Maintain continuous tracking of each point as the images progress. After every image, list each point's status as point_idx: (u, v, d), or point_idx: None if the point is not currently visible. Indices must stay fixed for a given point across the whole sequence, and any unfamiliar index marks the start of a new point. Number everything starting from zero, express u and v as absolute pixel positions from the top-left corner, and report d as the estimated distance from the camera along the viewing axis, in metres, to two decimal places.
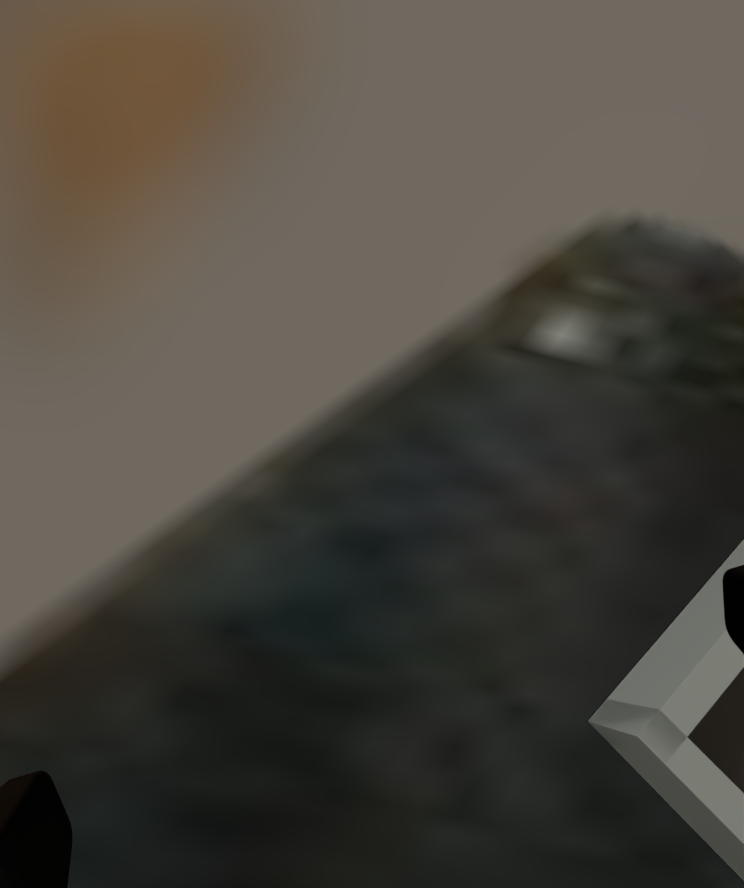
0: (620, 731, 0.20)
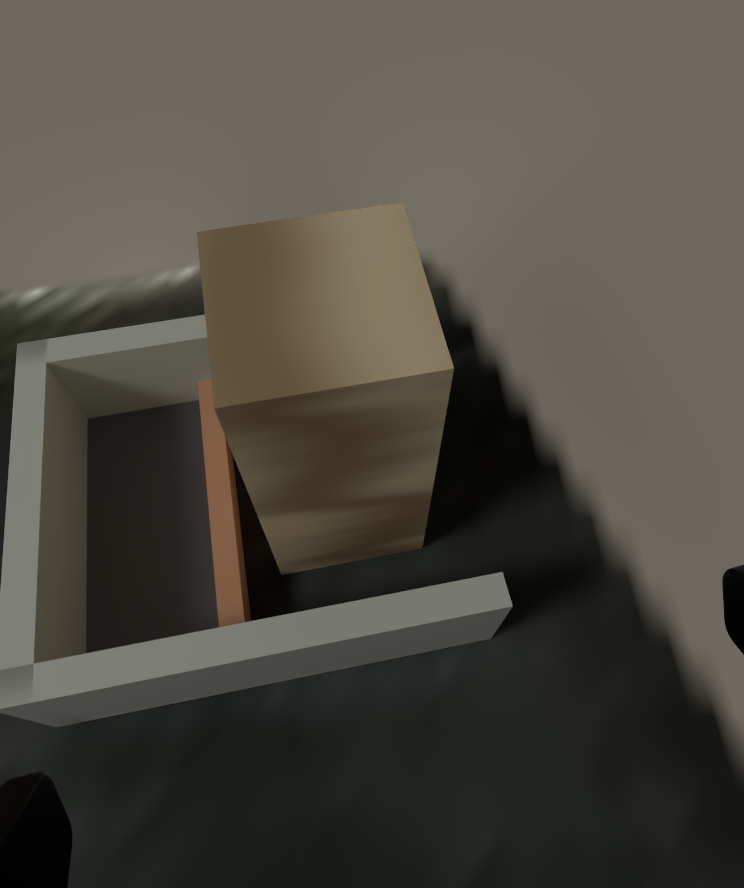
0: (16, 715, 0.19)
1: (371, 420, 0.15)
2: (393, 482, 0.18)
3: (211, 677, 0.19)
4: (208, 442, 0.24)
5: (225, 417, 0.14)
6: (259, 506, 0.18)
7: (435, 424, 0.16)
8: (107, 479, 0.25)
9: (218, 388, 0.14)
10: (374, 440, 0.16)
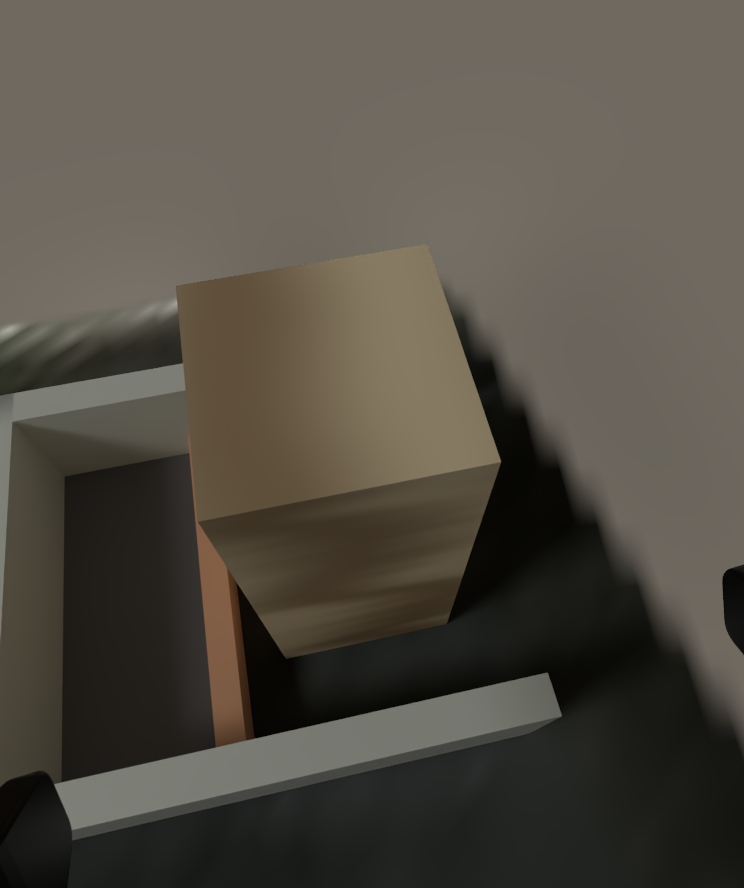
0: None
1: (395, 518, 0.12)
2: (418, 572, 0.15)
3: (205, 802, 0.16)
4: None
5: (212, 529, 0.11)
6: (258, 605, 0.15)
7: (472, 517, 0.13)
8: (86, 548, 0.22)
9: (202, 493, 0.11)
10: (398, 537, 0.13)
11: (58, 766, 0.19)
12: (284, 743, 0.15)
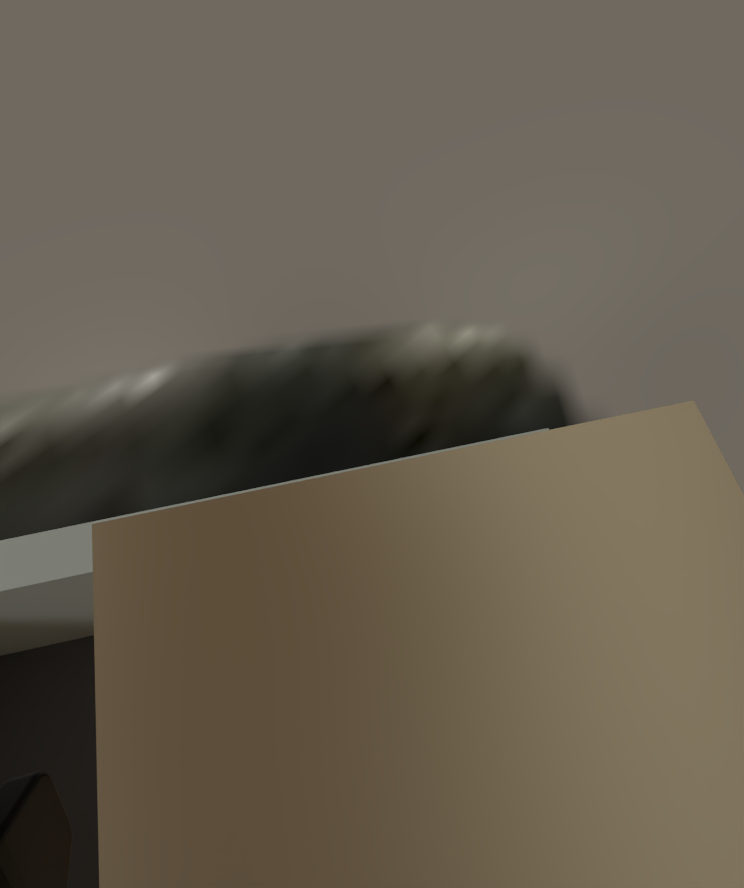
0: None
1: None
2: None
3: None
4: None
5: None
6: None
7: None
8: None
9: None
10: None
11: None
12: None
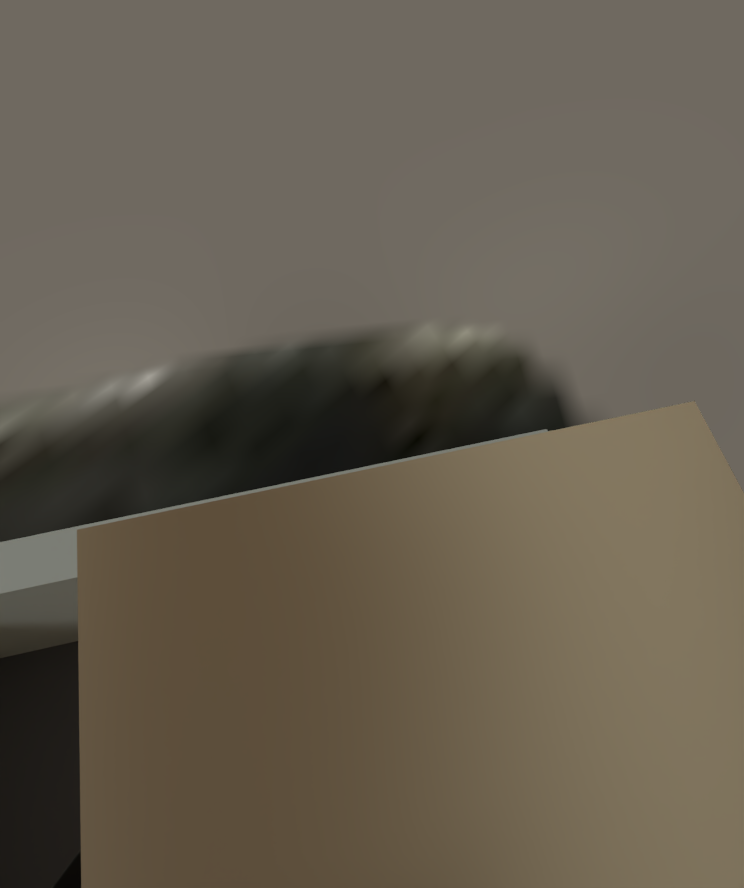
0: None
1: None
2: None
3: None
4: None
5: None
6: None
7: None
8: (1, 793, 0.14)
9: None
10: None
11: None
12: None
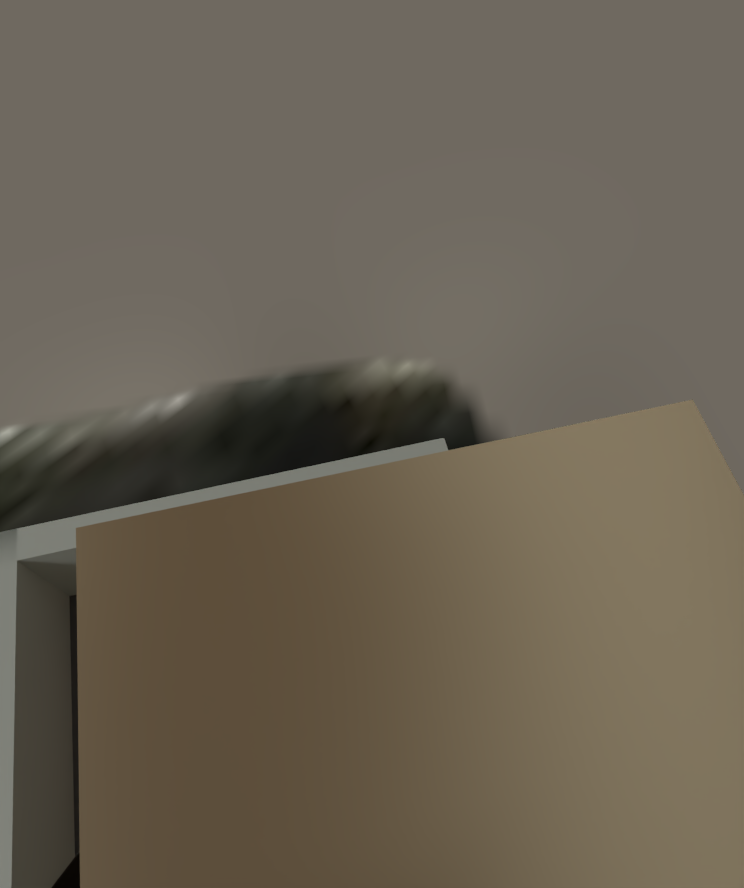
0: None
1: None
2: None
3: None
4: None
5: None
6: None
7: None
8: None
9: None
10: None
11: None
12: None
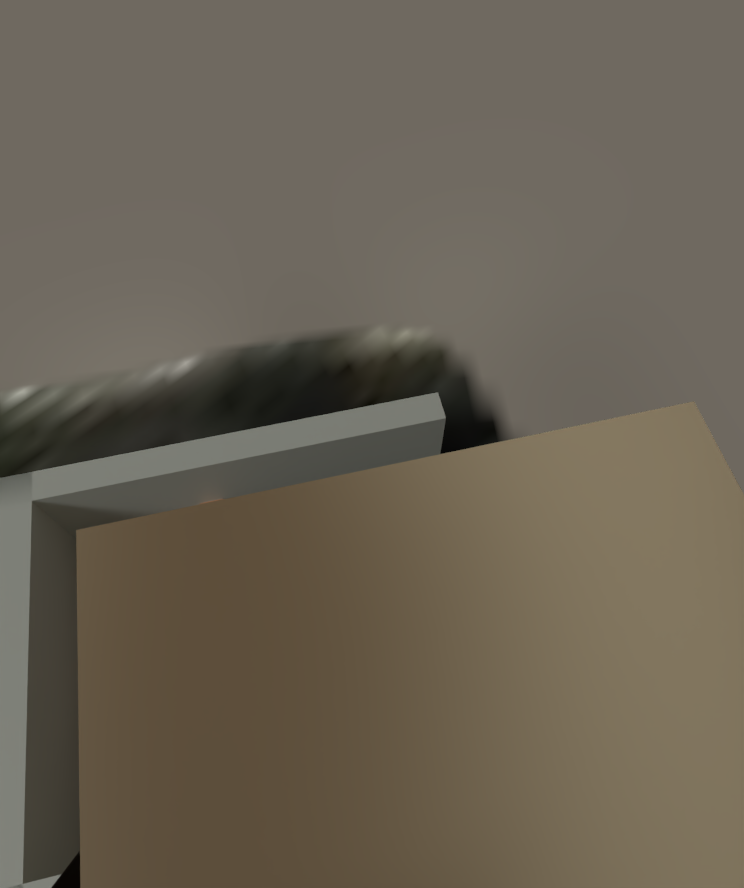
0: None
1: None
2: None
3: None
4: None
5: None
6: None
7: None
8: None
9: None
10: None
11: None
12: None
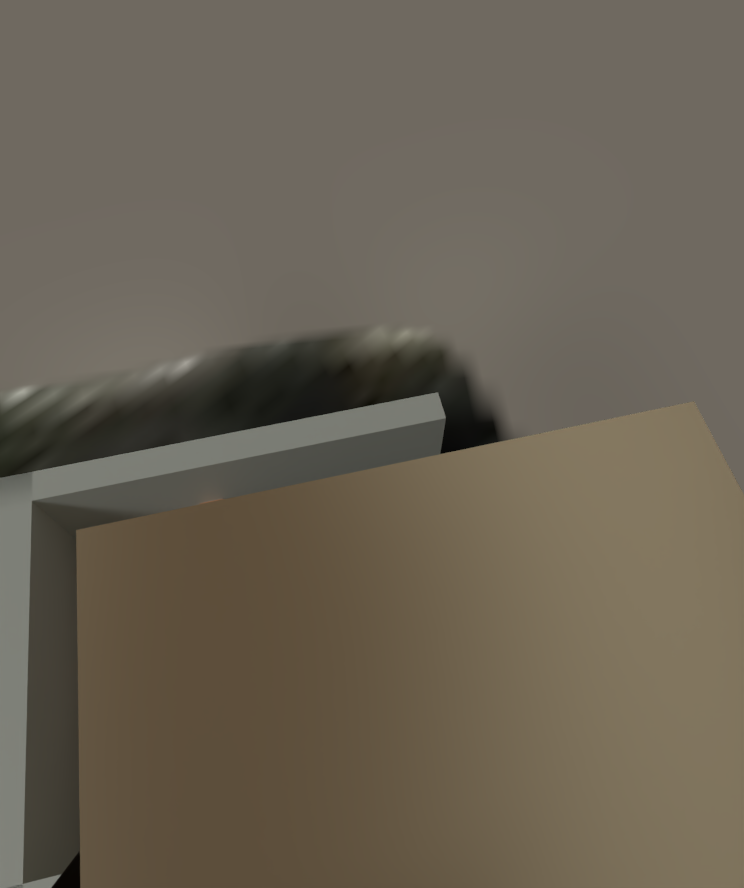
0: None
1: None
2: None
3: None
4: None
5: None
6: None
7: None
8: None
9: None
10: None
11: None
12: None
